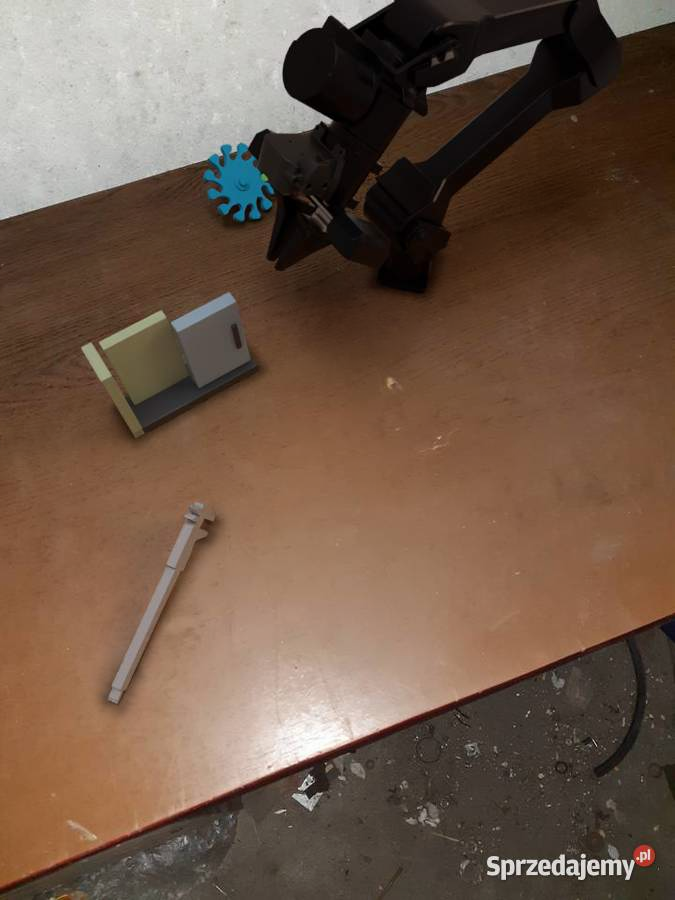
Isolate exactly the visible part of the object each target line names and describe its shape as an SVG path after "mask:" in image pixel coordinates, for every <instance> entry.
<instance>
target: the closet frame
mask: <svg viewBox="0 0 675 900" xmlns="http://www.w3.org/2000/svg"><path fill="white" fill-rule="evenodd" d="M98 344H99V346H100V347H101V349H102V351H103V353H104V355H105V356H106V358H107V360H108V362H109V364H110V365H111V367H112V369H113V370H114V372H115V374H116V376H117V377H118V379H119V381H120V383H121V384H122V386H123V388H124V390H125V392H126V393H127V395H125V396H124V394H123V392H122V390H121V389H120V387H119V385H118V384H117V382H116V380H115V378H114V377H113V375H112V373H111V372H110V370H109V369H108V367H107V365H106V364H105V361H104V360H103V358H102V357H101V355H100V354H99V352H98V350H97V349H96V347H95V346H94V344H93V343H92V342H89V343H87V344H85V345H83V346H81V347H80V349H81V350H82V353H83V354H84V356H85V358H86V359H87V361H88V363H89V364H90V366H91V368H92V369H93V371H94V373H95V374H96V376H97V377H98V379H99V381H100V382H101V385H102V386H103V387H104V389H105V390H106V393H107V394H108V395H109V397H110V399H111V401H112V402H113V404H114V405H115V407H116V409H117V411H118V412H119V414H120V415H121V417H122V418H123V420H124V421H125V423H126V425H127V426H128V428H129V430H130V431H131V433H132V436H134V438H135V439H137V438H139V437H141V436H143V435H145V434H146V433H149V432H150V431H152V430H153V429H155V428H158V427H159V426H161V425H162V424H165V423H166V422H168V421H170V420H172V419H173V418H175V417H177V416H179V415H181V414H183V413H185V412H186V411H188V410H190V409H192V408H194V407H195V406H197V405H199V404H200V403H203V402H204V401H207V400H208V399H209V398H211V397H213V396H215V395H217V394H219V393H220V392H222V391H224V390H226V389H228V388H230V387H231V386H233V385H235V384H237V383H238V382H240V381H242V380H244V379H246V378H248V377H249V376H251V375H252V374H253V375H254V374H255V373H257V372H259V370H260V369H259V364H258V363H257V362H256V360H255V359H254V358H253V356H252V355H251V354H250V353H249V356H250V361H248V362H246V363H245V364H243V365H241V366H239V367H237V368H235V369H234V370H232V371H230V372H228V373H226V374H224V375H223V376H221V377H219V378H217V379H215V380H214V381H212V382H210V383H208V384H206V385H204V386H203V387H201V388H198V387H197V385H196V384H195V382H194V381H193V379H192V376H191V374H190V371H189V369H188V366H187V364H186V361H185V359H184V356H183V354H182V351H181V349H180V346H179V344H178V341H177V339H176V336H175V334H174V331H173V328H172V326H171V323H170V322H169V320H168V317H167V315H166V314H165V313H164V311H163V310H162V309H161V310H158V311H157V312H154V313H153V314H151V315H149V316H147V317H145V318H143V319H141V320H139V321H137V322H135V323H133V324H131V325H129V326H127V327H125V328H124V329H121V330H119V331H117V332H116V333H113V334H111V335H109V336H107V337H106V338H104V339H102V340H100V341H98Z"/></svg>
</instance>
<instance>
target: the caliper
mask: <svg viewBox="0 0 675 900" xmlns="http://www.w3.org/2000/svg"><path fill="white" fill-rule="evenodd" d="M188 510H189V512H187V513H185V514H184V515H183V518H185V519H187V521H186V522H184V524H183V526H182V528H181V530H180V532H179V534H178V537H177V539H176V542H175V544H174V546H173V548H172V550H171V552H170V554H169V557H168V559H167V561H166V564H165V566H166V567H165V569H164V571H163V573H162V576H161V578H160V579H159V582H158V584H157V586H156V589H155V591H154V593H153V595H152V597H151V600H150V602H149V604H148V606H147V608H146V610H145V613H143V614H144V615H143V617H142V619H141V620H140V624H139V625H138V627H137V630H136V631H135V633H134V636H133V638H132V640H131V642H130V645H129V647H128V649H127V651H126V654H125V656H124V658H123V659H122V662H121V664H120V667H119V668H118V670H117V673H116V675H115V678H114V680H113V682H112V683H111V687H112V688H111V691H110V692H109V695H108V698H107V700H108V701H110V702H112V703H114V704H116V705H118V704H119V701H121V697H122V695H123V693H124V691H126V690H127V689H128V687H129V685H130V682H131V680H132V678H133V676H134V674H135V671H136V669H137V667H138V664H139V662H140V660H141V658H142V656H143V653H144V652H145V649H146V647H147V645H148V642H149V640H150V639H151V636H152V635H153V634H152V633H153V631H154V629H155V627H156V625H157V622H158V621H159V618H160V616H161V614H162V612H163V610H164V607H165V605H166V603H167V602H168V599H169V597H170V594H171V592H172V591H173V588H174V585H175V583H176V581H177V579H178V577H179V575H180V573H181V572H184V570H185V567H186V565H187V562H188V560H189V559H190V557H191V555H192V550H193V548H194V547H193V546H194V544H195V543H196V541H198V540H201V539H204V538H206V537H208V535H209V532H208V531H206V530H205V529H203V528H201V526H202V524H203V521H204V520H208V521H210V522H213V523H214V522H215V517H216V516H215V514H214V512H213V510H212V508H211V506H209V505H206V504H203V503H200V502H198V501H194V503H193V505H192V504H188Z"/></svg>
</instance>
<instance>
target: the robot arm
mask: <svg viewBox="0 0 675 900" xmlns="http://www.w3.org/2000/svg"><path fill="white" fill-rule="evenodd" d="M537 41H539V42H538V43H537V44H536V47H535V50H534V52H533V55H532V58H531V61H530V64H529V67H528V69H527V71H526V72H525V73H524V74H523V75H522V76H521V77H520V78H519V79H518V80H517V81H516V82H514V83H513V84H512V85H511V86H509V88H507V89H506V90H505V91H504V92H503V93H502V94H500V95H499V96H498V97H496V99H495V100H494V101H492V102H491V103H490V104H489V105H488V106H487V107H486V108H484V109H483V110H482V111H481V112H480V113H479V114H477V115H476V116H475V117H474V118H473V119H472V120H470V121H469V122H468V123H467V124H466V125H465V126H464V127H462V128H461V129H460V130H459V131H458V132H457V133H456V134H455V135H454V136H452V137H451V138H450V139H449V140H448V141H447V142H445V143H444V144H443V145H442V146H441V147H440V148H438V150H436V151H435V152H434V153H433V154H431V155H430V156H429V157H428V158H427V159H425V160H423V161H417V162H412V161H411V160H410V159H409V158H408V157H407V156H403V157H401V158H399V159H397V160H396V161H394V163H393V164H392V165H391V166H390V168H388V169H387V170H386V171H385V172H383V173H382V174H381V172H382V171H383V169H384V166H383V165H382V163H380V162H379V160H380V159H381V157H382V156H383V155H384V153H385V151H386V150H387V148H388V147H389V146H390V144H391V143H392V142H393V140H394V138H395V137H396V135H398V132H399V131H400V129H401V128H402V126H403V125H405V123H406V121H407V119H408V118H409V116H410V115H411V114H412V112H415V114H417V115H419V116H421V117H423V118H425V117H426V116H427V115H428V113H429V104H428V100H427V92H428V88H436V87H440V86H441V85H444V84H445V83H447V82H449V81H451V80H454V79H455V78H458V77H460V76H461V75H464V74H466V72H467V71H468V69H469V68H470V66H471V65H472V63H473V62H474V60H475V59H477V58H479V57H481V56H483V55H488V54H491V53H494V52H498V51H499V52H500V51H503V50H506V49H510V48H514V47H518V46H521V45H525V44H529V43H533V42H537ZM623 52H624V45H623V42H622V41H620V39H618V37H617V35H616V34H615V32H614V31H613V29H612V28H611V26H610V25H609V23H608V21H607V20H606V18H605V17H604V15H603V14H602V12H601V9H600V4H599V1H598V0H393V1H392V2H391V3H389V4H387V5H386V6H384V7H381V9H379V10H377V11H375V12H374V13H372V14H371V15H369V16H368V17H366V18H364V19H363V20H361V21H359V22H358V23H356V24H354V25H353V26H351V27H350V28H348V27H347V26H346V25H344V24H343V22H341V21H340V20H339V19H338V18H336V17H335V16H334V15H332V14H330V15H328V16H327V18H326V20H325V22H324V23H323V25H322V26H321V27H313V28H310V29H308V30H306V31H305V32H303V33H302V34H300V35H299V36H298V38H296V39H294V40H293V41H292V42H291V43H290V45H289V47H288V49H287V51H286V53H285V56H284V59H283V62H282V71H281V76H282V77H281V78H282V84H283V88H284V89H285V91H286V93H287V95H288V96H289V97H290V98H292V99H294V100H296V101H297V102H299V103H301V104H302V105H305V106H306V107H308V108H310V109H312V110H314V111H315V112H317V113H319V114H321V115H323V116H324V117H326V118H328V119H329V120H331V121H330V124H328V123H327V122H325V121H323V120H320V122H319V123H317V124H315V126H314V128H313V129H312V131H311V132H310V133H309V134H308V135H304V134H301V133H296V132H295V133H294V132H293V133H291V132H289V133H287V132H285V133H284V132H275V131H274V130H271V129H269V128H265V129H263V130H260V131H258V132H256V133H255V135H254V136H253V139H252V140H251V141H250V143H249V145H248V150H247V152H249V154H251V156H252V155H253V156H254V157H255V158H256V160H257V161H258V162H257V164H256V168H257V169H258V170H259V171H260V173H264V175H265V176H266V177H267V178H268V180H269V184H270V186H271V187H272V189H273V191H274V194H273V195H274V198H275V201H276V209H275V216H274V222H273V227H272V230H271V234H270V235H271V236H270V239H269V243H268V248H267V252H266V256H265V258H266V259H267V261H269V262H276V263H275V265H274V269H275V270H276V271H278V272H284V271H286V270H287V269H289V268H291V267H293V266H295V265H296V264H298V263H299V262H301V261H303V260H304V259H306V258H308V257H310V256H311V255H313V254H315V253H317V252H318V251H321V250H324V249H325V248H328V247H329V246H331V245H332V247H333V248H334V249H335V250H336V251H337V252H338V254H339V255H340V256H342V257H343V258H344V259H345V260H347V261H349V262H353V263H356V264H359V265H363V266H364V267H368V268H372V269H374V270H375V269H376V270H378V272H377V275H376V283H377V284H379V285H385V286H388V287H393V288H398V289H404V290H407V291H408V290H409V291H413V292H418V293H426V292H427V290H428V286H429V283H430V279H431V276H432V273H433V270H434V266H435V263H436V259H437V254H439V252H440V251H442V250H444V249H445V248H447V245H448V244H449V241H450V239H451V237H452V232H451V231H450V230H449V229H448V228H447V227H446V226H445V225H444V224H443V222H444V221H445V217H446V214H447V211H448V208H449V206H450V203H451V200H452V198H453V197H454V196H456V195H457V193H458V192H460V191H461V190H462V189H463V188H464V187H465V186H466V185H468V183H470V182H471V181H472V180H473V179H475V177H478V175H479V174H481V172H483V171H484V170H485V169H486V168H487V167H488V166H490V165H491V164H492V163H493V162H494V161H496V159H497V158H499V157H501V155H502V154H503V153H505V152H506V151H507V150H508V149H509V148H511V146H513V145H514V144H515V143H516V142H517V141H519V140H520V139H521V138H522V137H523V136H525V134H527V133H528V132H529V131H530V130H531V129H533V128H534V127H535V126H536V125H537V124H538V123H540V121H542V120H544V118H545V117H546V116H548V115H549V114H550V113H551V112H554V111H557V110H562V109H567V108H573V107H576V106H580V105H582V104H584V103H585V102H587V101H589V100H590V99H591V98H592V97H594V96H595V95H597V94H598V93H600V92H601V91H603V89H605V88H607V87H608V86H610V85H611V84H612V83H613V82H614V81H615V80H616V78H617V77H618V75H619V74H620V72H621V70H622V67H623V64H624V63H623V62H624V61H623V60H624V59H623ZM370 174H373V175H375V176H376V177H375V179H374V180H375V181H376V182H374V183H373V184H372V185H371V186H370V187H369V188H368V190H367V192H366V193H365V197H364V203H363V208H362V212H363V216H364V217H365V218H366V219H364V218H361V217H358V216H356V215H354V214H351V213H349V212H347V210H346V209H349V210H352V211H355V210H356V208H357V207H358V206H359V204H360V201H359V200H358V199H357V197H356V194H357V193H358V191H359V190H360V189H361V187H362V186H363V184H364V183H365V181H366V179H368V176H370Z"/></svg>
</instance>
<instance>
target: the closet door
mask: <svg viewBox="0 0 675 900" xmlns="http://www.w3.org/2000/svg"><path fill="white" fill-rule="evenodd" d="M170 326H171V329H172V331H173V334H174V337H175V339H176V342H177V344H178V347H179V349H180V352H181V354H182V357H183V360H184V362H185V364H187V366H188V369H189V371H190V374H191V376H192V379H193V381H194V382H195V384H196V385H197V387H198V388H201V387H203V386H204V385H206V384H208V383H210V382H212V381H214V380H215V379H217V378H219V377H221V376H223V375H224V374H226V373H228V372H230V371H232V370H234V369H235V368H237V367H239V366H241V365H243V364H245V363H246V362H248V361H250V356H249V354H250V352H249V348H248V344H247V340H246V335H245V330H244V328H243V323H242V319H241V316H240V311H239V307H238V302H237V300H236V299H235V298H234V296H233V295H232V294H231V292H229V291H228V292H226V293H224V294H222V295H220V296H219V297H216V298H215V299H213V300H210V301H209V302H207V303H205V304H203V305H201V306H199V307H196V308H195V309H193V310H192V311H189V312H187V313H185V314H184V315H181V316H180V317H178V318H176V319H174V320H172V321H170Z"/></svg>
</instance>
